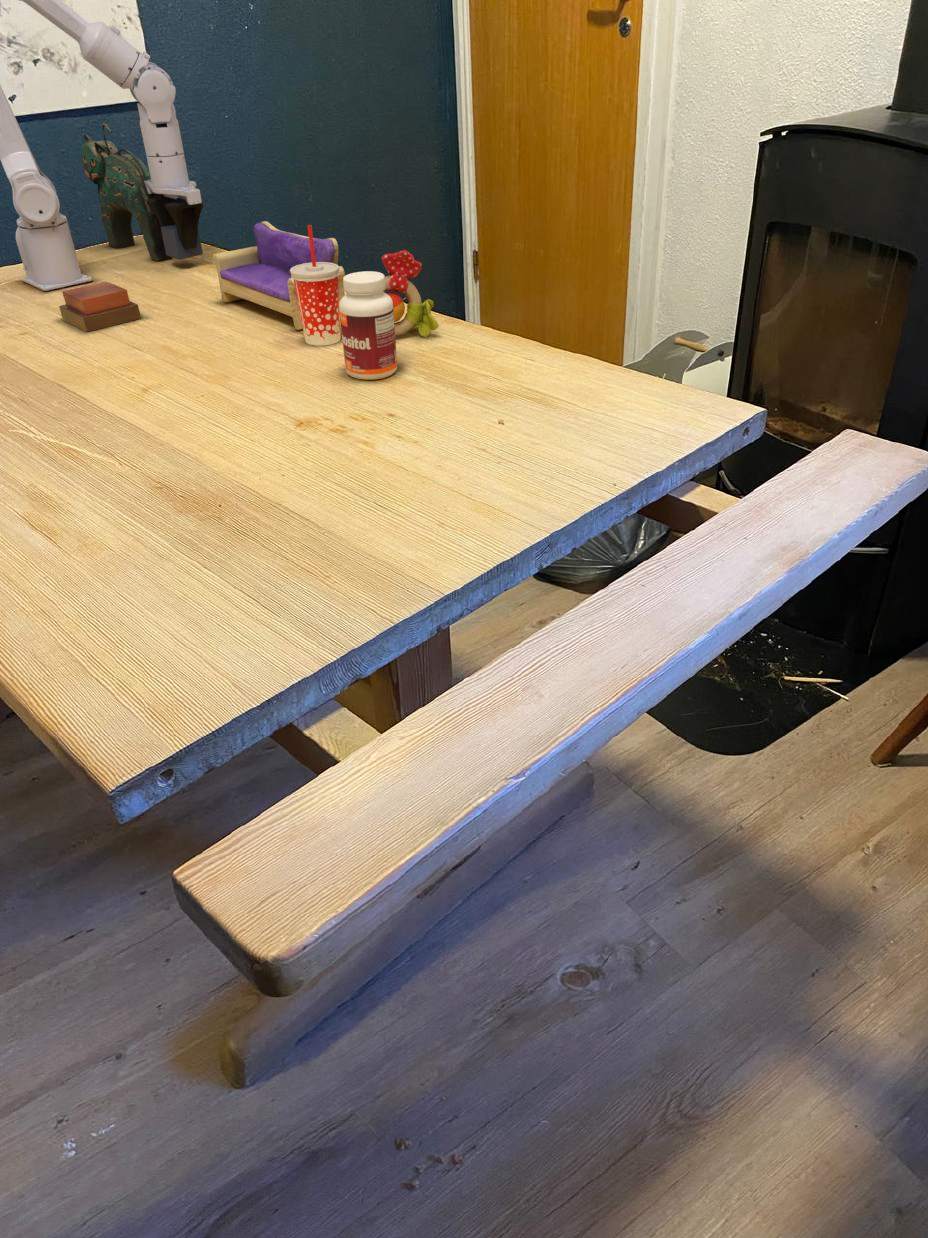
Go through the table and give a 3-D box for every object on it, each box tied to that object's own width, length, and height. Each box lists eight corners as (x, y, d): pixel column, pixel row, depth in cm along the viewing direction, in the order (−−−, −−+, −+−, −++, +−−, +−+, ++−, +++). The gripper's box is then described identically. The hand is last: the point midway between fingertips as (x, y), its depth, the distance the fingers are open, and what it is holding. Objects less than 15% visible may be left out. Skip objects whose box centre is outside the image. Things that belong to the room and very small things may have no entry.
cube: (166, 255, 150) (160, 226, 147) (189, 250, 152) (184, 222, 149) (179, 259, 147) (173, 230, 144) (203, 254, 149) (198, 226, 147)
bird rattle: (397, 362, 116) (456, 324, 116) (356, 285, 109) (418, 245, 109) (382, 348, 121) (438, 311, 121) (341, 273, 114) (401, 235, 114)
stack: (62, 320, 128) (54, 291, 126) (115, 307, 132) (108, 279, 130) (87, 332, 123) (79, 302, 121) (141, 318, 127) (134, 289, 125)
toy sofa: (219, 302, 133) (205, 228, 127) (269, 289, 138) (258, 217, 132) (298, 333, 120) (287, 252, 114) (351, 318, 125) (343, 240, 119)
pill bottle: (335, 373, 107) (324, 278, 101) (371, 359, 111) (363, 266, 105) (372, 385, 104) (363, 287, 98) (408, 369, 108) (402, 274, 101)
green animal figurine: (99, 245, 164) (68, 120, 152) (132, 239, 167) (104, 116, 156) (151, 264, 152) (122, 130, 140) (186, 256, 156) (160, 125, 144)
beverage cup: (354, 341, 117) (343, 225, 109) (311, 350, 114) (296, 233, 106) (334, 329, 121) (321, 217, 113) (292, 338, 119) (276, 224, 110)
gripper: (211, 155, 139) (227, 248, 146) (165, 146, 147) (182, 234, 155) (170, 161, 135) (188, 256, 143) (125, 151, 143) (145, 242, 151)
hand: (183, 245), depth 149 cm, fingers closed on cube, 4 cm apart
